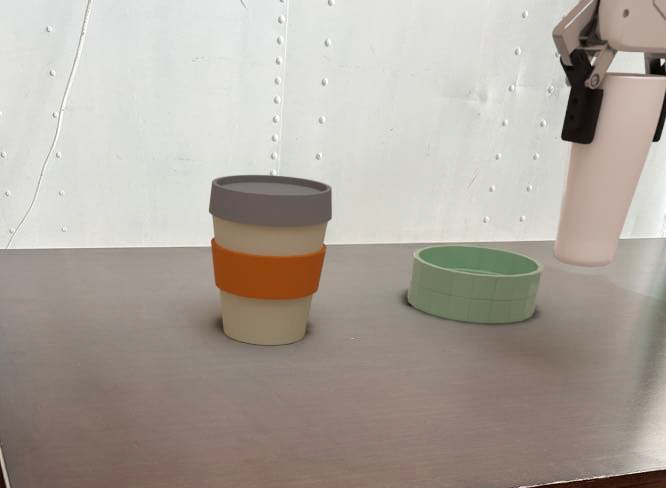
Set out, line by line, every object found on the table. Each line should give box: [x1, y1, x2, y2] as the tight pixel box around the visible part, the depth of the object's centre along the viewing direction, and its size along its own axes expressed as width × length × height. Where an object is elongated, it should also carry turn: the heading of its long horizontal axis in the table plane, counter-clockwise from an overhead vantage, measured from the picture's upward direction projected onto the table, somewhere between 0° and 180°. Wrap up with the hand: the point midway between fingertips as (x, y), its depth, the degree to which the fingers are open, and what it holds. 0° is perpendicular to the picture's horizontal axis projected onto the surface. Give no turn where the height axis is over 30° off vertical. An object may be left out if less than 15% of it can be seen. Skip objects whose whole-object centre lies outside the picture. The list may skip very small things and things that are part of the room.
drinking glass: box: [552, 71, 666, 268], centre depth 71 cm, size 7×7×15 cm
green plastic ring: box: [407, 244, 545, 324], centre depth 99 cm, size 15×15×6 cm
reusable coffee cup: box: [208, 174, 333, 346], centre depth 86 cm, size 13×13×15 cm
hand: (610, 139), depth 70 cm, fingers closed on drinking glass, 6 cm apart
